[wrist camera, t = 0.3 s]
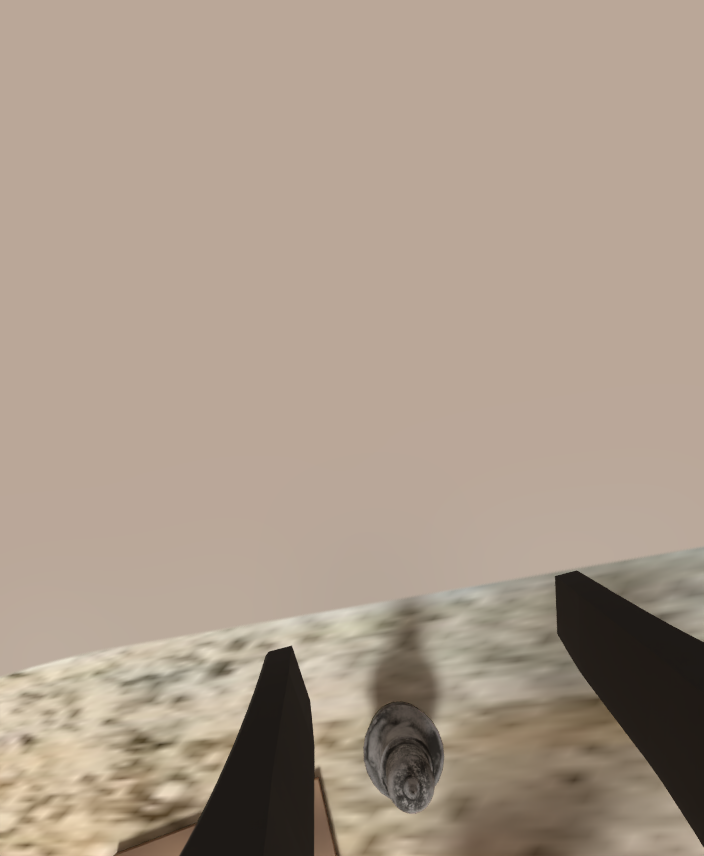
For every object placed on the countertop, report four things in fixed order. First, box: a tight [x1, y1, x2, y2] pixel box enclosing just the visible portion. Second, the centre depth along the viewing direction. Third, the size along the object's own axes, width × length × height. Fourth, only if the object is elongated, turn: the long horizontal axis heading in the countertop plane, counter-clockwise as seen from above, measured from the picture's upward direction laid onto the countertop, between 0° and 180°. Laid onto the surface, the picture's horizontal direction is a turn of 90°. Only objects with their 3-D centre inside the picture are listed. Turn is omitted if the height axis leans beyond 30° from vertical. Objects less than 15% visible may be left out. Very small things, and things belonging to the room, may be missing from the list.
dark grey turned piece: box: [364, 702, 444, 814], centre depth 30 cm, size 6×6×12 cm
